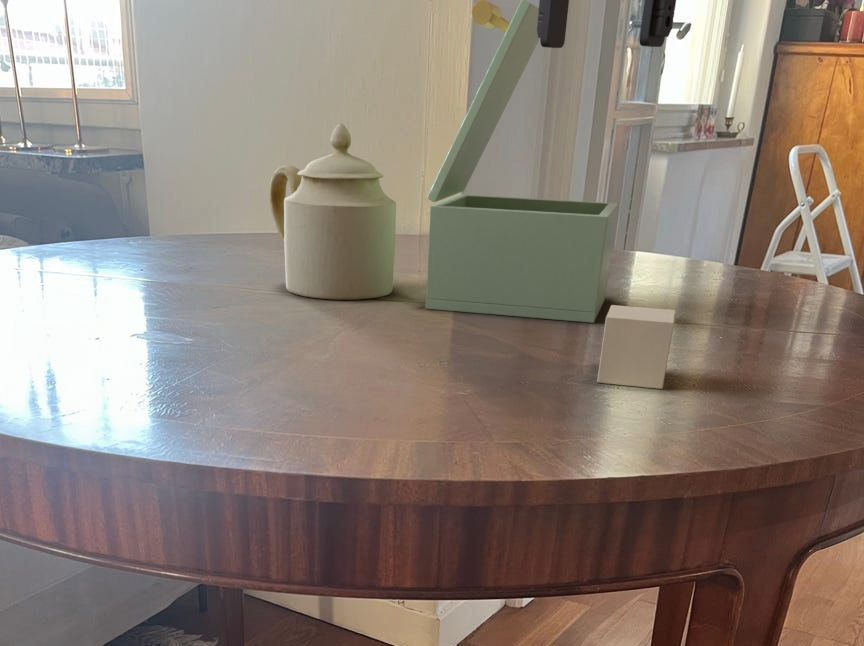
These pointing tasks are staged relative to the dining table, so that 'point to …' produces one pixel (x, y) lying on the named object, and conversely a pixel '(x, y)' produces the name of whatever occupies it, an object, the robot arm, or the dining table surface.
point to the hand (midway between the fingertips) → (599, 47)
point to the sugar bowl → (335, 226)
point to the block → (636, 346)
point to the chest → (520, 256)
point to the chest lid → (488, 94)
